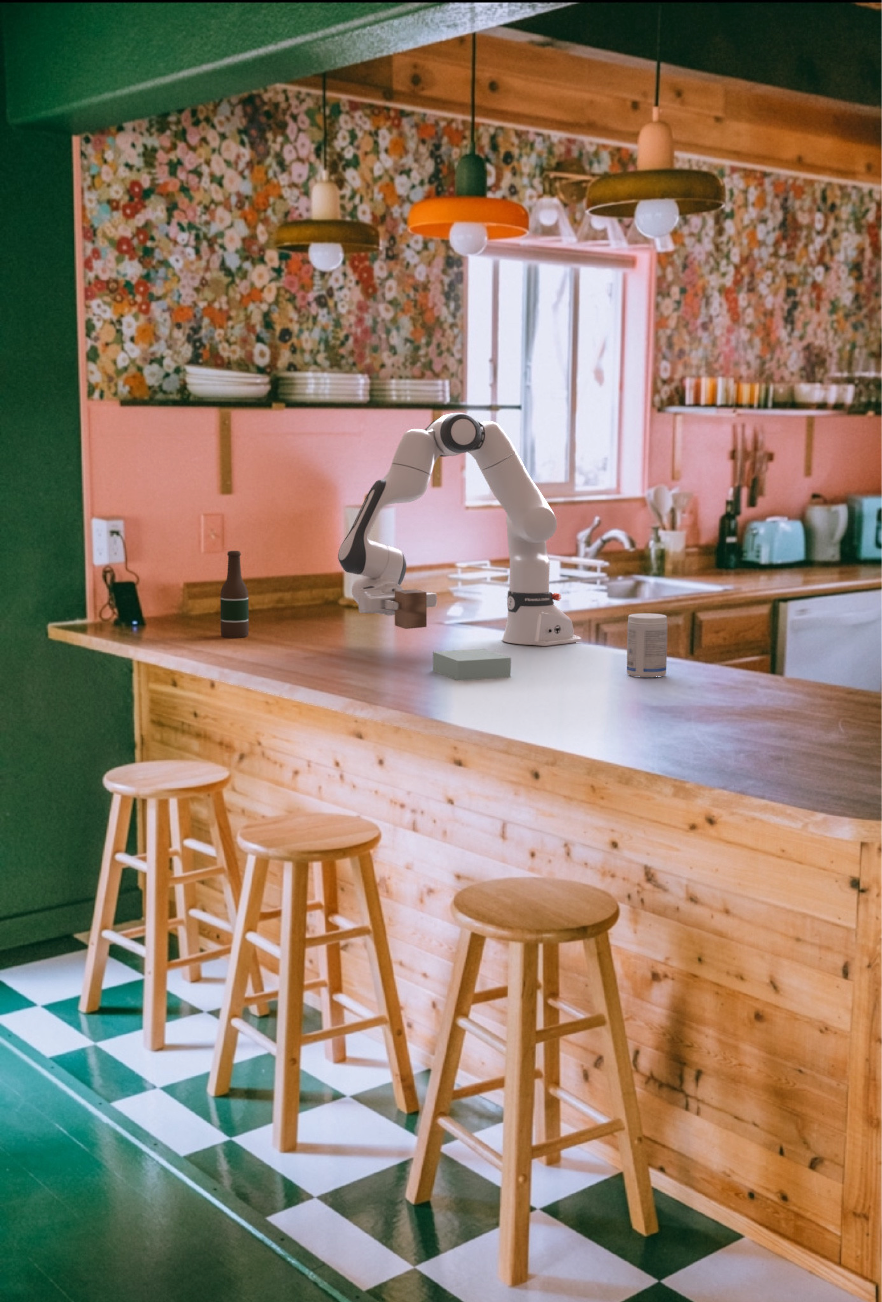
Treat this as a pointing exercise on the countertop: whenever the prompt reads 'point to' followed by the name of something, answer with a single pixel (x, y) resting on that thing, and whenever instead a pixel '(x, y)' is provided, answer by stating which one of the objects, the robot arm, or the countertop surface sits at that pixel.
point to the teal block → (471, 664)
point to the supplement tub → (647, 645)
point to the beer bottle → (234, 601)
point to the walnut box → (411, 609)
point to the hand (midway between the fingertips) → (412, 605)
